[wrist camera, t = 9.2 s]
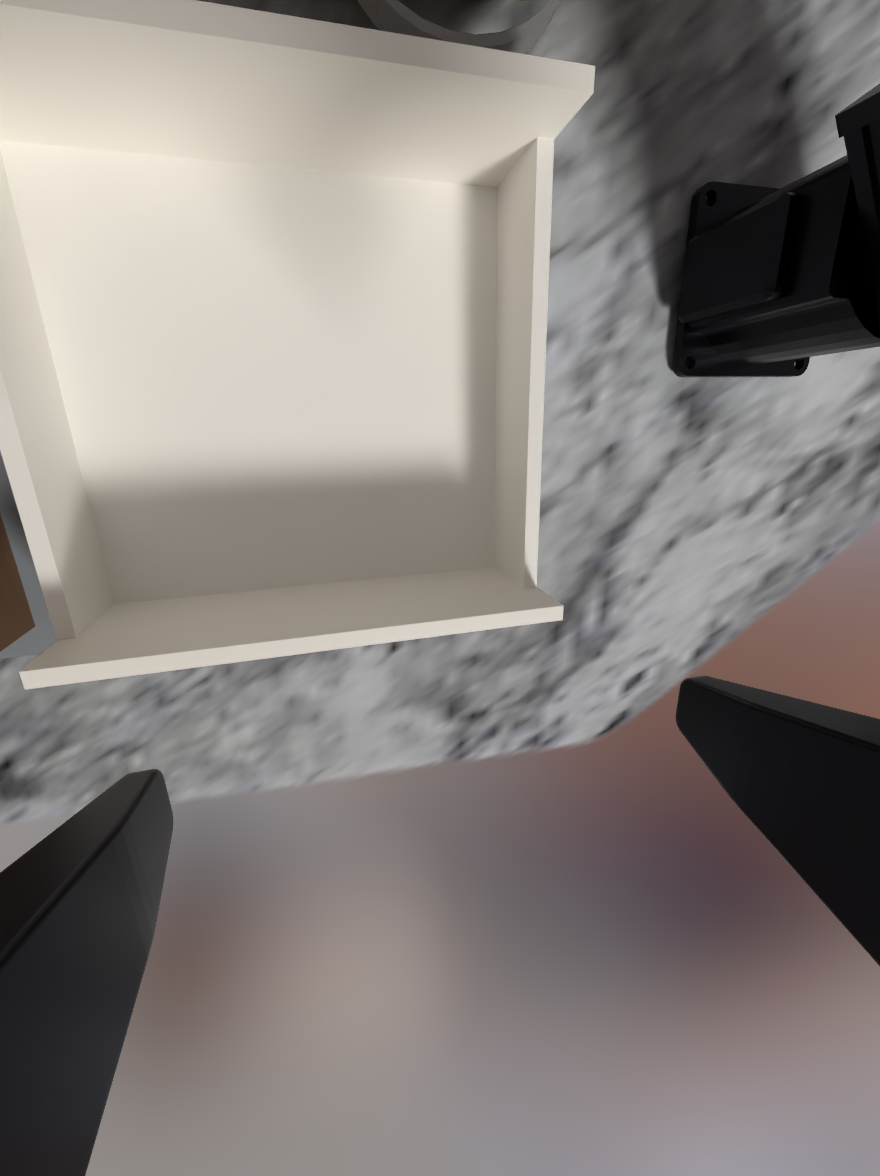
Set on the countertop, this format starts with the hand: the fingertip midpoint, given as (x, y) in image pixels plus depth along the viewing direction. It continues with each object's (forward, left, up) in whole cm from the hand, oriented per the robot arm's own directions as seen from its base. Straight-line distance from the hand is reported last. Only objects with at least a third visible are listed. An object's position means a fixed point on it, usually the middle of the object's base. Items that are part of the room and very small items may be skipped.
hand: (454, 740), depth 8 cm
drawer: (+2, -6, -12) cm, 14 cm away
